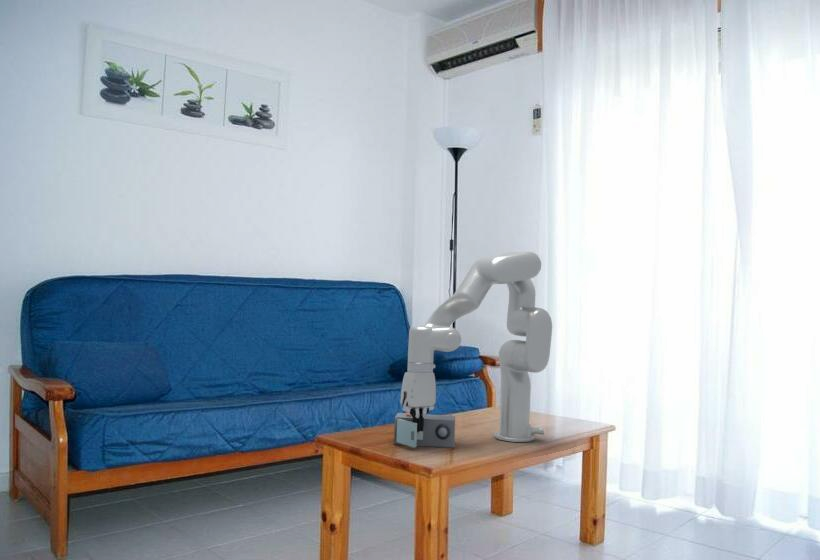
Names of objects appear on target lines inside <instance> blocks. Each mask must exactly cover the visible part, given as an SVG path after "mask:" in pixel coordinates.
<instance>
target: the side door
mask: <svg viewBox="0 0 820 560" xmlns="http://www.w3.org/2000/svg"><path fill="white" fill-rule="evenodd" d="M396 442H398V443H401V444H404V445H405V446H407V447H410V448H417V445H416V443H417V423H414V422H410V421H406V420H402V419H397V437H396ZM401 444H400V445H401ZM404 445H403V446H404Z"/></svg>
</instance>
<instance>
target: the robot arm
mask: <svg viewBox="0 0 820 560" xmlns="http://www.w3.org/2000/svg"><path fill="white" fill-rule="evenodd" d="M541 270H542V260H541V259H540V257H539V255H538V254H536V253H535V252H533V251H517V252H516V251H514V252H513V251H512V252H505V253H502V254H500V255H499V256H489V257H488V256H487V257H480V258H478V259H477V260H475V261H474V263H473V264H472V265H471V266H470V268H469V270H468V272H467V273H466V275H465V277H464V278H463V280H462V281H461V283H460V284H459V286H458V287H457V289H456V290H455V292H454V293H453V294H452V295H451V296H450V297H448V298H447V299H446V300H445V301H443V302H442V303H441V304H440V305H439V306H438V307H437V308H436V309H435V310H434V311H433V312H432V313H431V315H430V317H429V318H428V320H427V321H426V323H425V325H424V326H423V325H422V326H421V325H420V326H418V325H415V326H414V325H413V326H411V327H410V328H409V330H408V344H407V345H408V349H407V372H406V371H405V372H404V375H403V378H402V384H401V389H400V391H401V392H400V405H402V411H403V412H405V413H407V412H409V413H410V414H411V416H412V417H413V420H412V422H414V423H417V432H420V431H423V427H424V418H425V417H426V414H429V412H430V411H432V410H435V404H436V401H437V400H436V399H437V385H436V376H435V372H434V369H436V364H435V363H434V355H435V354H434V353H435V352H434V351H440V352H445V353H446V352H447V353H448V352H449V353H450V352H453V351H455V350H457V349H458V348H459V347H460V345H461V342H462V336H461V333H460V332H459V330H457V329H456V328H455V327H452V326H451V325H453V323H455V321H457V320H458V319H460V318H463V317H464V316H466V315H469V314H471V313H472V312H474V311H475V310H477V309H478V308H479V307H480V305H481V304H482V302H483V301H484V299H485V298H486V295H488V293H489V291H490V289H492V288H491V287H492V286H493V285H507V288H508V307H507V315H506V316H507V317H506V329H507V331H508V333H510V334H512V335H514V336H518V337H524V338H525V340H520V339H510V340H508V341H505V342H504V343H502V345H501V346H500V348H499V351H498V361H499V367H500V369H499V370H500V397H499V398H500V399H499V401H500V404H499V430H498V431H495V432H494V435H493V436H494V438H495V439H497V440H501V441H505V442H514V443H526V442H527V443H528V442H532V441H534V439H535V435H539V436H540V435H543V436H544V434H545V429H544V428H539V427H534V426H531V423H530V413H531V411H530V410H531V385H532V383H531V379H530V375H529V373H533V374H534V373H540V372H543V371H544V370H545V369H546V368H547V366H548V364H549V361H550V355H551V345H552V335H553V321H552V317H551V315H550V314H549V312H548V311H547V310H545V309H544V308H541V307H536V289H535V288H536V287H535V285H534V282H533V281H532V279H534V278H535V277H537V276H538V274H539V273H540V272H541Z"/></svg>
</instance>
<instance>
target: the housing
mask: <svg viewBox="0 0 820 560" xmlns="http://www.w3.org/2000/svg"><path fill="white" fill-rule="evenodd" d="M397 419H402V420H406V421H410V422H412V420H413V417H412V416H411V414H410V413H407V412H396V415H395V417H394V429H393V445H403V446H404V444H401V443H398V442H396V437H397ZM455 436H456V415H446V414H429V413H427V414H426V417H425V418H424V427H423V431H420V432H417V443H416V446H420V447H421V446H422V447H437V448H438V447H439V448H455V440H456V439H455Z"/></svg>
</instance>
